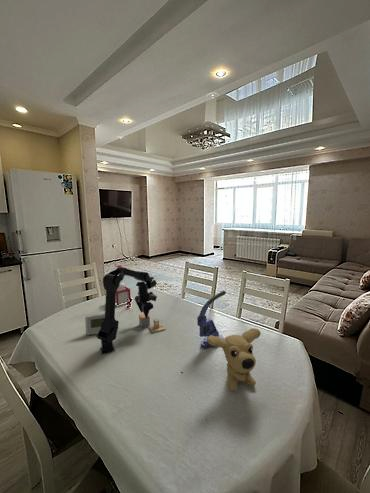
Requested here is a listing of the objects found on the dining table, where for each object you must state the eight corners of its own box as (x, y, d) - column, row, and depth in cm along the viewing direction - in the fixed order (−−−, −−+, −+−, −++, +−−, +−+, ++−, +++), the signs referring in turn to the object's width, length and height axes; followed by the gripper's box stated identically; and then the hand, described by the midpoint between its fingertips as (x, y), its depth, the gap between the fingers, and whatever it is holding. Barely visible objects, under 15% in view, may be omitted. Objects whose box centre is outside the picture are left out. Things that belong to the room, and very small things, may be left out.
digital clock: (84, 336, 137) (83, 319, 136) (88, 328, 146) (87, 312, 144) (113, 334, 139) (112, 317, 138) (115, 326, 148) (114, 310, 147)
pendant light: (124, 298, 195) (122, 263, 191) (130, 302, 187) (128, 266, 182) (111, 302, 188) (109, 266, 184) (117, 306, 180) (115, 268, 175)
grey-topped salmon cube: (149, 325, 148) (149, 316, 147) (142, 327, 146) (141, 318, 145) (147, 322, 153) (146, 313, 152) (139, 324, 150) (139, 314, 149)
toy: (219, 405, 87) (220, 356, 84) (201, 371, 106) (201, 330, 103) (276, 390, 94) (278, 344, 91) (249, 361, 113) (251, 322, 110)
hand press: (205, 352, 120) (205, 300, 115) (194, 345, 127) (193, 295, 122) (230, 340, 131) (231, 292, 127) (218, 333, 138) (219, 288, 134)
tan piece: (165, 329, 143) (164, 320, 142) (152, 333, 140) (152, 324, 139) (160, 324, 150) (159, 315, 149) (148, 327, 146) (147, 318, 146)
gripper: (160, 293, 142) (161, 317, 144) (150, 285, 158) (150, 307, 160) (143, 296, 136) (144, 321, 139) (134, 287, 153) (135, 310, 155)
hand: (144, 314), depth 148 cm, fingers open, 9 cm apart
